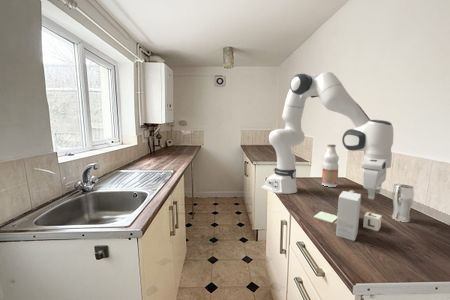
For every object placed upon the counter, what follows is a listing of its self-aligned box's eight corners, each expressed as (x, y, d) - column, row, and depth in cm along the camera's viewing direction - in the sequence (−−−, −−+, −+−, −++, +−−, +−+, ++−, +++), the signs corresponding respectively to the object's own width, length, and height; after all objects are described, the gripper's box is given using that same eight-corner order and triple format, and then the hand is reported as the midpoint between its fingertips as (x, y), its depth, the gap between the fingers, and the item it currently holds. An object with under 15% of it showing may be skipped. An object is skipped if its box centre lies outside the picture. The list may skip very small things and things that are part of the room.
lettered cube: (362, 227, 87) (363, 215, 86) (366, 223, 90) (367, 211, 90) (377, 231, 83) (378, 219, 82) (380, 227, 87) (381, 215, 86)
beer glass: (403, 223, 89) (406, 189, 87) (386, 216, 96) (389, 184, 94) (415, 221, 91) (418, 187, 89) (398, 215, 97) (401, 183, 96)
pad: (313, 217, 96) (313, 216, 96) (320, 212, 101) (320, 211, 101) (332, 223, 90) (332, 222, 90) (338, 217, 96) (338, 216, 96)
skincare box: (340, 227, 86) (342, 190, 84) (359, 232, 82) (362, 193, 80) (335, 236, 80) (337, 196, 78) (355, 242, 76) (358, 199, 74)
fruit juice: (328, 188, 138) (330, 145, 134) (318, 184, 147) (320, 144, 143) (340, 187, 140) (343, 145, 136) (330, 183, 149) (332, 143, 145)
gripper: (373, 157, 93) (371, 188, 94) (360, 164, 79) (357, 200, 80) (391, 159, 88) (389, 191, 90) (381, 166, 74) (377, 204, 76)
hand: (374, 195), depth 85 cm, fingers open, 8 cm apart
